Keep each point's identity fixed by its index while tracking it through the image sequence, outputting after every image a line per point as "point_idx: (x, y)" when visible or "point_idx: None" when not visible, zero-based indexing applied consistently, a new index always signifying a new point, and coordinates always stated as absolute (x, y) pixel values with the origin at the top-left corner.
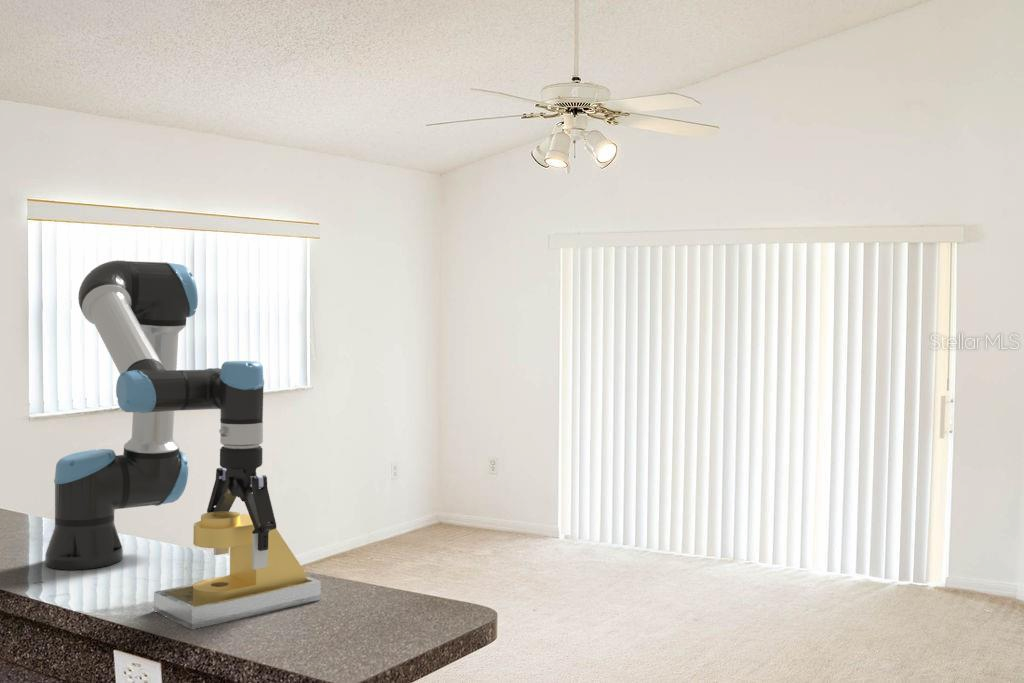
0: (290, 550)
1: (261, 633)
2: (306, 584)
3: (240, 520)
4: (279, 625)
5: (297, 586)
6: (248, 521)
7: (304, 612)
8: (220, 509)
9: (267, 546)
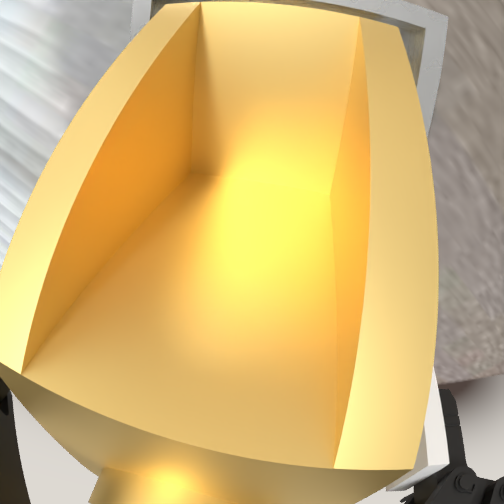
0: (425, 138)
1: (460, 313)
2: (439, 80)
3: (177, 482)
4: (470, 264)
5: (430, 121)
6: (241, 493)
7: (469, 154)
8: (15, 451)
9: (453, 406)
